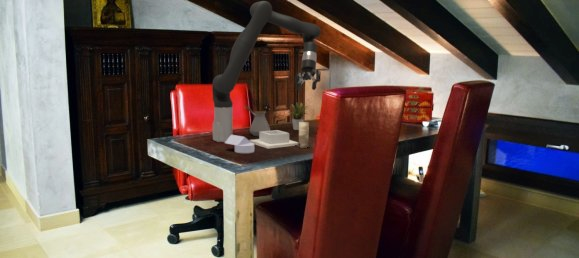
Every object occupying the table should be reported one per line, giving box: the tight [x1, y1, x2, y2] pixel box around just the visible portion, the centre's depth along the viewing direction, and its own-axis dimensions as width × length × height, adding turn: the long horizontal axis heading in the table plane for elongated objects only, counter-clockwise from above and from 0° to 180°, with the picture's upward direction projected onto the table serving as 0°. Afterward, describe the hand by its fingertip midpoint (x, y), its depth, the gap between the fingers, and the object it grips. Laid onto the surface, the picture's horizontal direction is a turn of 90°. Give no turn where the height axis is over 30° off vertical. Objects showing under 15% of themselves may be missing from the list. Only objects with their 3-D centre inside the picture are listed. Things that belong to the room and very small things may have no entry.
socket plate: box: [248, 129, 299, 150], centre depth 246 cm, size 18×18×6 cm
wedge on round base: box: [224, 134, 255, 154], centre depth 228 cm, size 9×7×13 cm
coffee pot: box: [244, 105, 271, 137], centre depth 273 cm, size 21×12×15 cm, turn 37°
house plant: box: [287, 102, 310, 131], centre depth 290 cm, size 14×14×16 cm
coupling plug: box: [297, 121, 310, 149], centre depth 238 cm, size 6×5×12 cm
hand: (306, 90), depth 258 cm, fingers open, 8 cm apart
